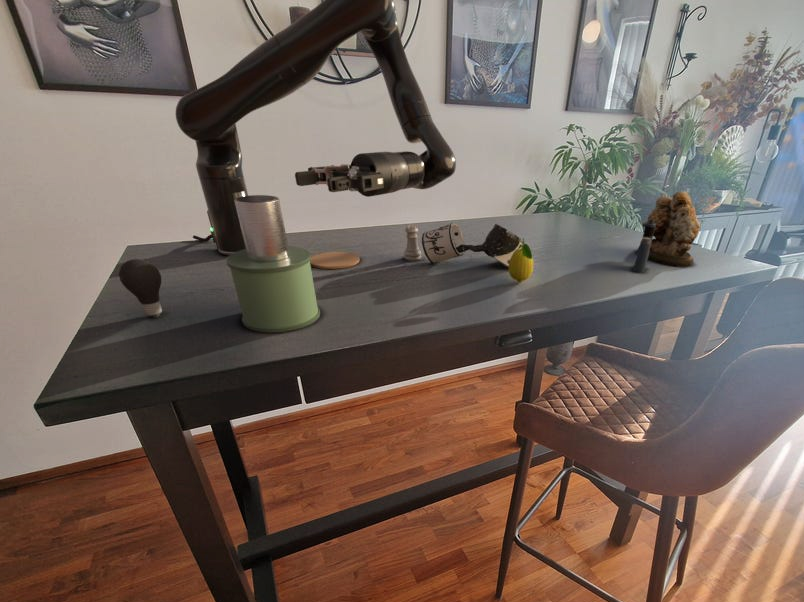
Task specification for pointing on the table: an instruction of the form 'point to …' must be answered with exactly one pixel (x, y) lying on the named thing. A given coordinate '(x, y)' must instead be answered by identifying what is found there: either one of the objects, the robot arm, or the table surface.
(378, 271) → the table surface
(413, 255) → the rook chess piece
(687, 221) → the owl figurine
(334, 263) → the cork mat
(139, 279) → the light bulb
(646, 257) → the vaping device
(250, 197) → the silver cup
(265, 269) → the green round canister
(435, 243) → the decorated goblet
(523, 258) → the lemon
